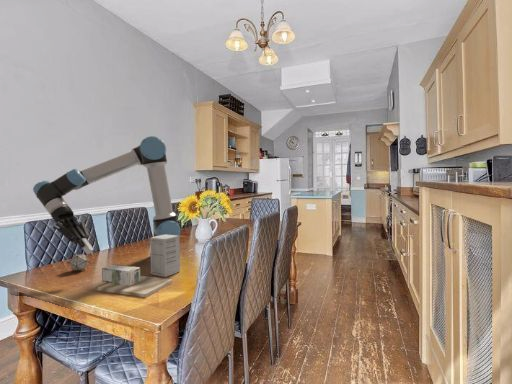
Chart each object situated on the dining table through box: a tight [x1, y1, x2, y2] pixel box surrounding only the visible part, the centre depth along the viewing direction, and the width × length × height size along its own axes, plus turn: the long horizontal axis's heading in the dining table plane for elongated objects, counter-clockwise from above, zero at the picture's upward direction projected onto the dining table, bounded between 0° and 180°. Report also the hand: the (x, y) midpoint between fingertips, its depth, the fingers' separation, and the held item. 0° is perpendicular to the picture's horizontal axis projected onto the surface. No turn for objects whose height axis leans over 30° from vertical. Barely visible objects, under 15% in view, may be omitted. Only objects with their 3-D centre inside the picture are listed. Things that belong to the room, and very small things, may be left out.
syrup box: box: [101, 263, 141, 286], centre depth 111 cm, size 6×6×14 cm
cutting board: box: [97, 275, 173, 299], centre depth 109 cm, size 22×16×1 cm
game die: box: [66, 252, 91, 273], centre depth 129 cm, size 9×8×10 cm
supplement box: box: [149, 234, 181, 278], centre depth 125 cm, size 10×9×17 cm
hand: (90, 251), depth 115 cm, fingers closed
